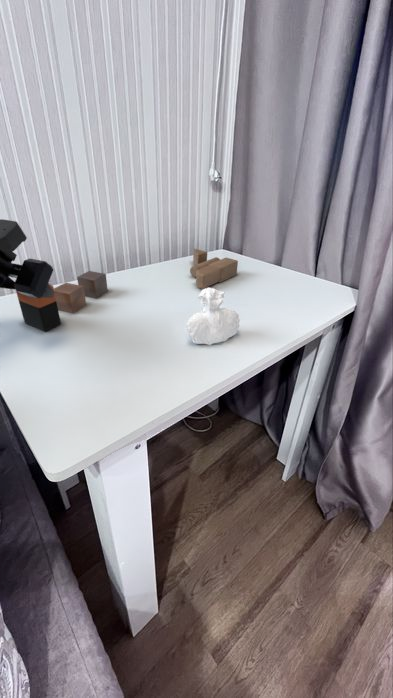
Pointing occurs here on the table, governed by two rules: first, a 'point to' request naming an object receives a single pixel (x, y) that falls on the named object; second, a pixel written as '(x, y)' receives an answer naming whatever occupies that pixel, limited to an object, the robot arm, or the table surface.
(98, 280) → the line block far
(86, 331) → the table surface
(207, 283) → the wooden block set
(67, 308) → the line block near
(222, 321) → the bust
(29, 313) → the battery
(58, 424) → the table surface
